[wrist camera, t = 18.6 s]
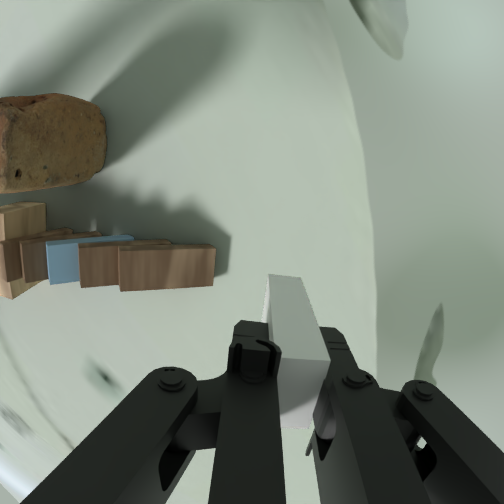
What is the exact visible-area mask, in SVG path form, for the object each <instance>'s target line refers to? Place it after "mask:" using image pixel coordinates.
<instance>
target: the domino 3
mask: <svg viewBox="0 0 504 504" xmlns="http://www.w3.org/2000/svg"><path fill="white" fill-rule="evenodd" d="M114 241H134V238H133V237H132V236H131V235H115V236H103V237H90V238H78V239H67V240H56V241H46V252H47V266H48V276H49V282H50V285H52V284H60V283H68V282H76V281H80V277H79V261H78V243H94V242H114Z"/></svg>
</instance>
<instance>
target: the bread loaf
mask: <svg viewBox="0 0 504 504" xmlns="http://www.w3.org/2000/svg"><path fill="white" fill-rule="evenodd" d="M100 111H101V110H100V108H99V107H98V106H97V105H95V104H93V103H91V102H88V101H85V100H83V99H79V98H76V97H73V96H69V95H64V94H58V93H51V94H42V95H36V96H18V97H14V96H12V97H2V98H0V193H17V192H26V191H33V190H40V189H47V188H53V187H60V186H66V185H73V184H77V183H80V182H84V181H87V180H89V179H91V178H92V177H93V175H94V174H95V173H97V172H99V171H100V170H101V168H102V167H103V164H104V160H105V155H106V149H107V136H106V133H105V131H106V125H105V120H104V117H103V116H102V115H101V113H100Z"/></svg>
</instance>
